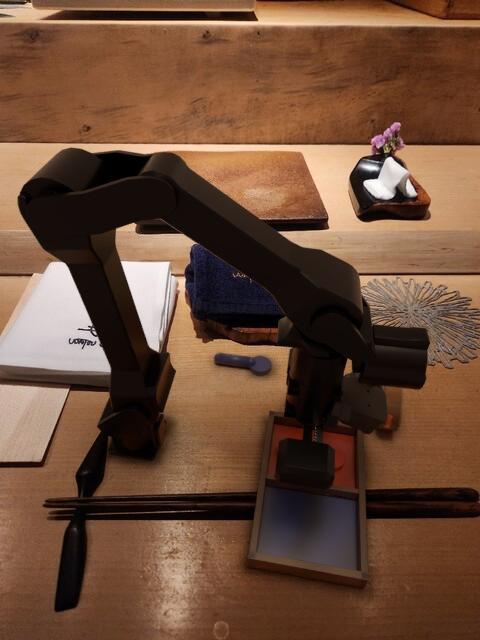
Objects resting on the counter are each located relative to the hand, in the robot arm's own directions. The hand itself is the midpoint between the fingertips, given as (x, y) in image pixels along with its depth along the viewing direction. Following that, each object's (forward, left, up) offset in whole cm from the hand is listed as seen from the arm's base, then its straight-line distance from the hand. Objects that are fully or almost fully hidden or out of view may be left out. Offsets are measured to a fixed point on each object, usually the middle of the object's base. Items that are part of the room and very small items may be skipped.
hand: (300, 447), depth 60 cm
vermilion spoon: (+1, 0, -2) cm, 2 cm away
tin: (+12, +12, -3) cm, 17 cm away
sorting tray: (+2, -5, -3) cm, 6 cm away
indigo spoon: (-10, +15, -3) cm, 19 cm away
